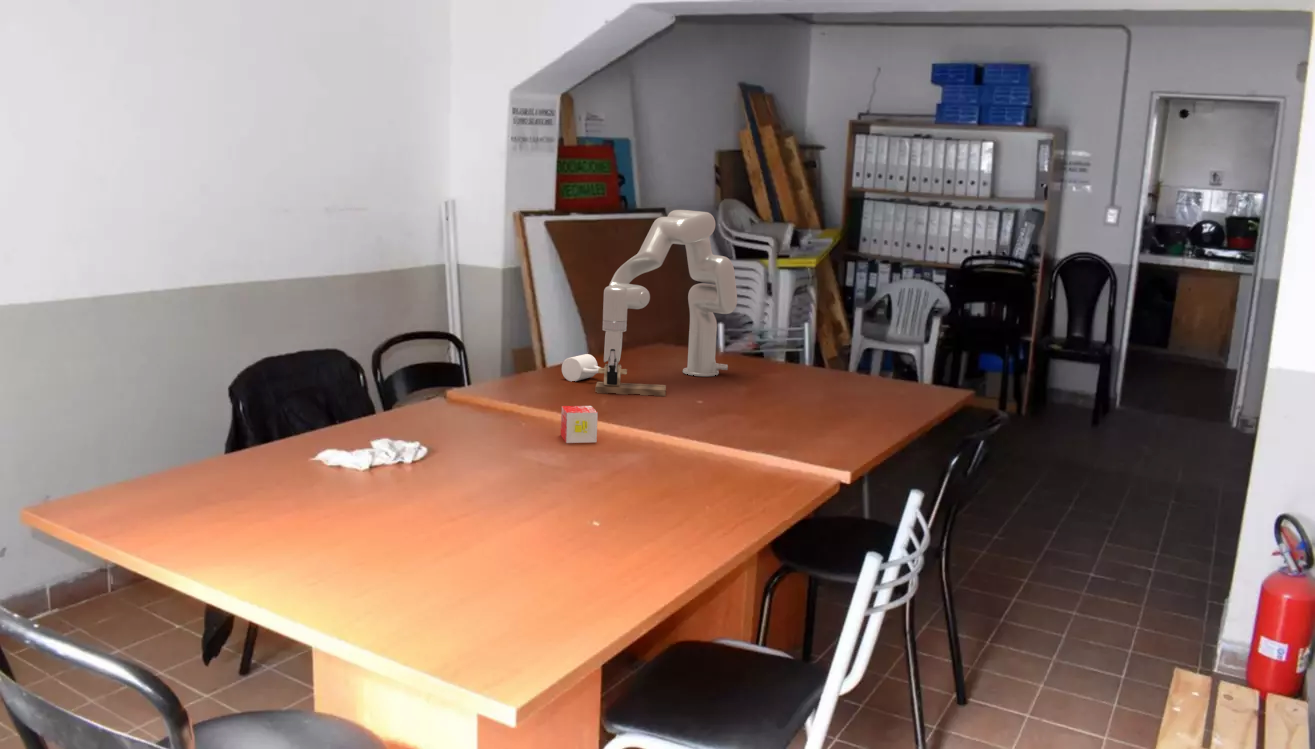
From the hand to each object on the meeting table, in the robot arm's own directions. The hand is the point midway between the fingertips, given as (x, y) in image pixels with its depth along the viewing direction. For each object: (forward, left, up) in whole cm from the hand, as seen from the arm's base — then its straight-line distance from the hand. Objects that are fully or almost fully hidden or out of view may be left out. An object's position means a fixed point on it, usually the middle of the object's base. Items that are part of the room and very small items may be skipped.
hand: (612, 382), depth 342 cm
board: (-6, 0, -3) cm, 7 cm away
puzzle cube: (+5, +63, -3) cm, 63 cm away
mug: (+10, -16, -3) cm, 19 cm away
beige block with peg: (0, 0, -1) cm, 1 cm away
